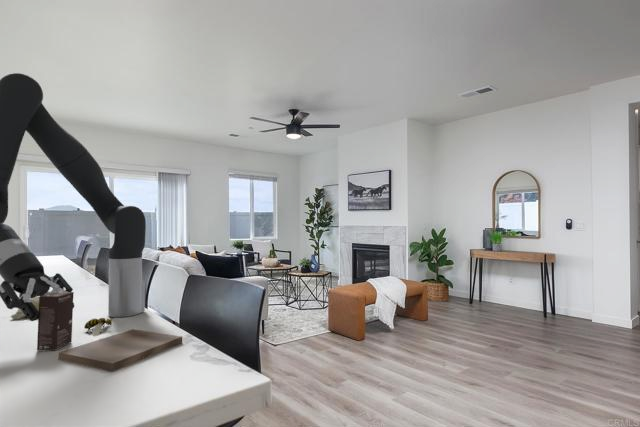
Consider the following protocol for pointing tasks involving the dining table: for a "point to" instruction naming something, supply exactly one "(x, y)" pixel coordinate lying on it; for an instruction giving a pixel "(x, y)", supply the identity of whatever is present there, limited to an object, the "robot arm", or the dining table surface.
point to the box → (55, 320)
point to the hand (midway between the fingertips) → (54, 313)
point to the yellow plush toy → (19, 313)
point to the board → (120, 349)
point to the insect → (97, 325)
